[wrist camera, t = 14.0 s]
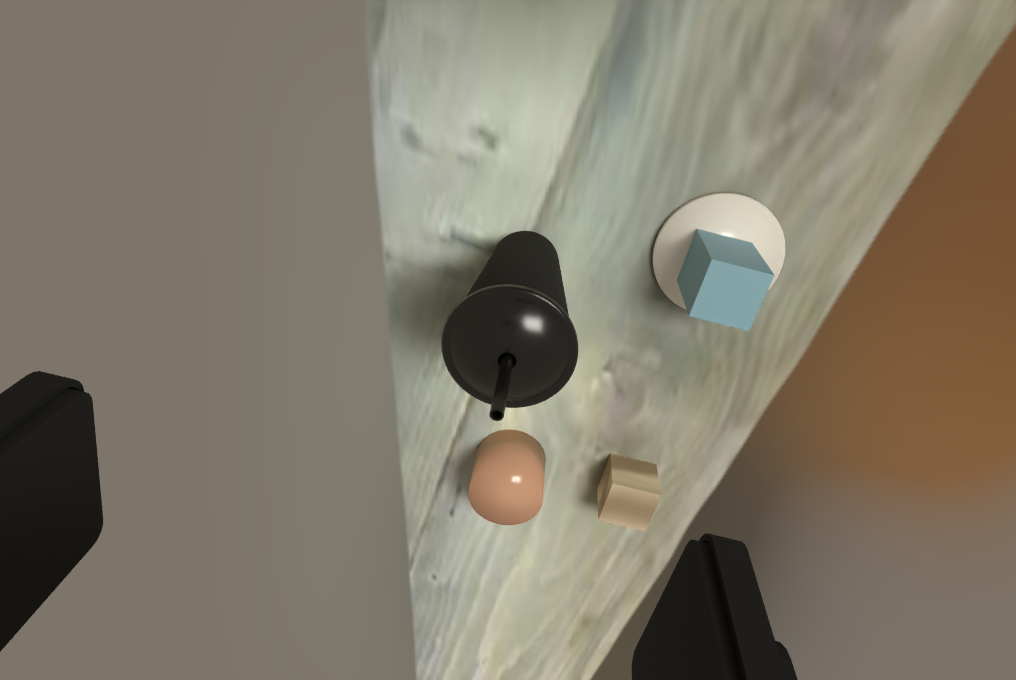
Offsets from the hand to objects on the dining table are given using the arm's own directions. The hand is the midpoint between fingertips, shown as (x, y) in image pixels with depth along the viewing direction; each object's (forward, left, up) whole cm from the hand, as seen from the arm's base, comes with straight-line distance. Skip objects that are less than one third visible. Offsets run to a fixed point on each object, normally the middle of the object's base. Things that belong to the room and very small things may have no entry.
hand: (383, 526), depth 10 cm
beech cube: (+27, +15, -38) cm, 49 cm away
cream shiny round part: (+6, +15, -38) cm, 42 cm away
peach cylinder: (+28, +5, -38) cm, 48 cm away
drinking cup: (+10, +2, -38) cm, 40 cm away
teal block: (+6, +15, -38) cm, 41 cm away
